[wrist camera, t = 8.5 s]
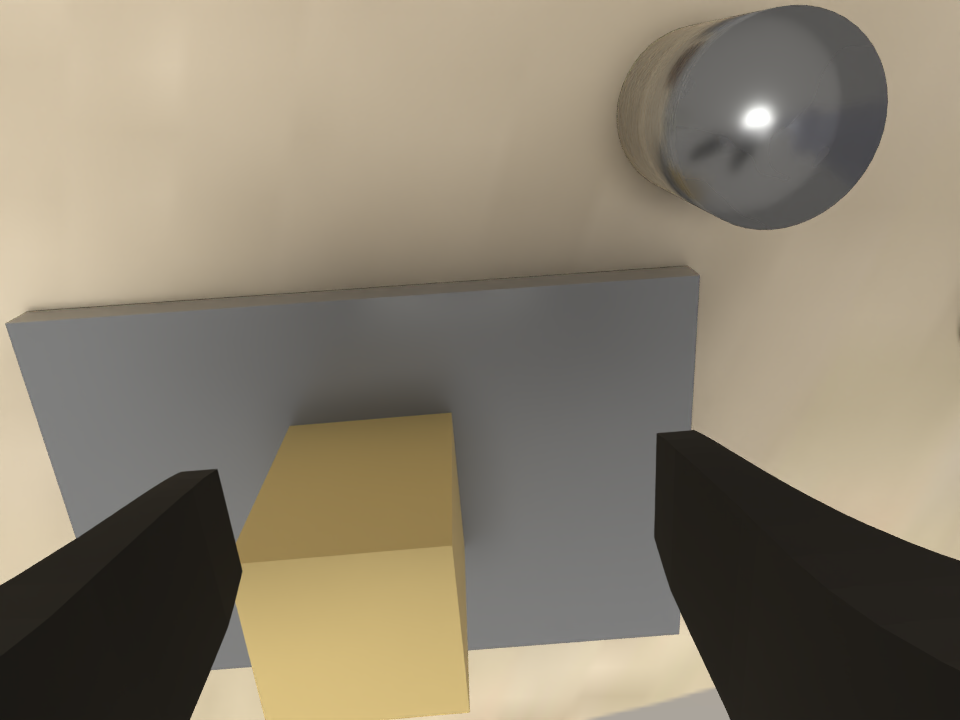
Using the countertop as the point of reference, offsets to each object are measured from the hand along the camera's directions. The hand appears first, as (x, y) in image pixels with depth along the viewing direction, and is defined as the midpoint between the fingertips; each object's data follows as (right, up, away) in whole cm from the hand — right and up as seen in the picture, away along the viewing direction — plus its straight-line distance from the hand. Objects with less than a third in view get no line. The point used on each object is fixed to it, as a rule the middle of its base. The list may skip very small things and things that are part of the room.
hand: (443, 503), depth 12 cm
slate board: (-2, -1, +10) cm, 10 cm away
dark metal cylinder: (+6, +9, +6) cm, 12 cm away
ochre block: (-2, -1, +9) cm, 9 cm away
